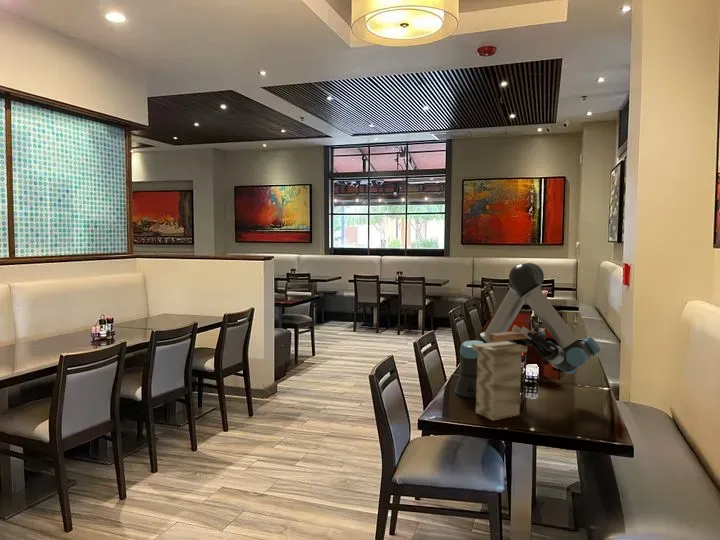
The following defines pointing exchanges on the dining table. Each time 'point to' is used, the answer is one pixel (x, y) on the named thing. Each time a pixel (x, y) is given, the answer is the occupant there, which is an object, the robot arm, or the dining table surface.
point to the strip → (508, 336)
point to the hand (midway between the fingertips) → (517, 328)
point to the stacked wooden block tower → (498, 379)
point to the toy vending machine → (536, 353)
